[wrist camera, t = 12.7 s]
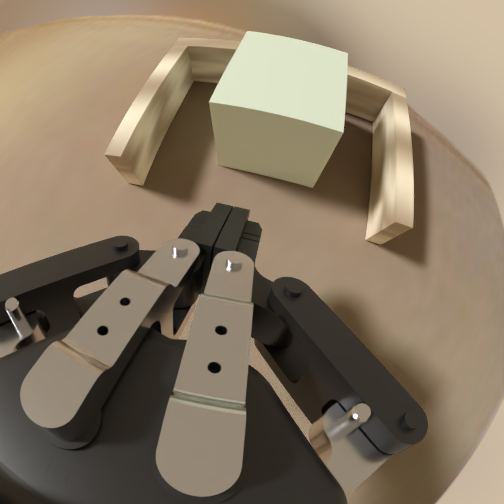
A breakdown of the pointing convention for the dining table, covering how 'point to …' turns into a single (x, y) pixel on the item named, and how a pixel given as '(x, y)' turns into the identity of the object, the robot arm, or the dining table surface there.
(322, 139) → the sage block
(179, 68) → the birch corral
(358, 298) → the dining table surface
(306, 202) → the dining table surface
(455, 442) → the dining table surface
